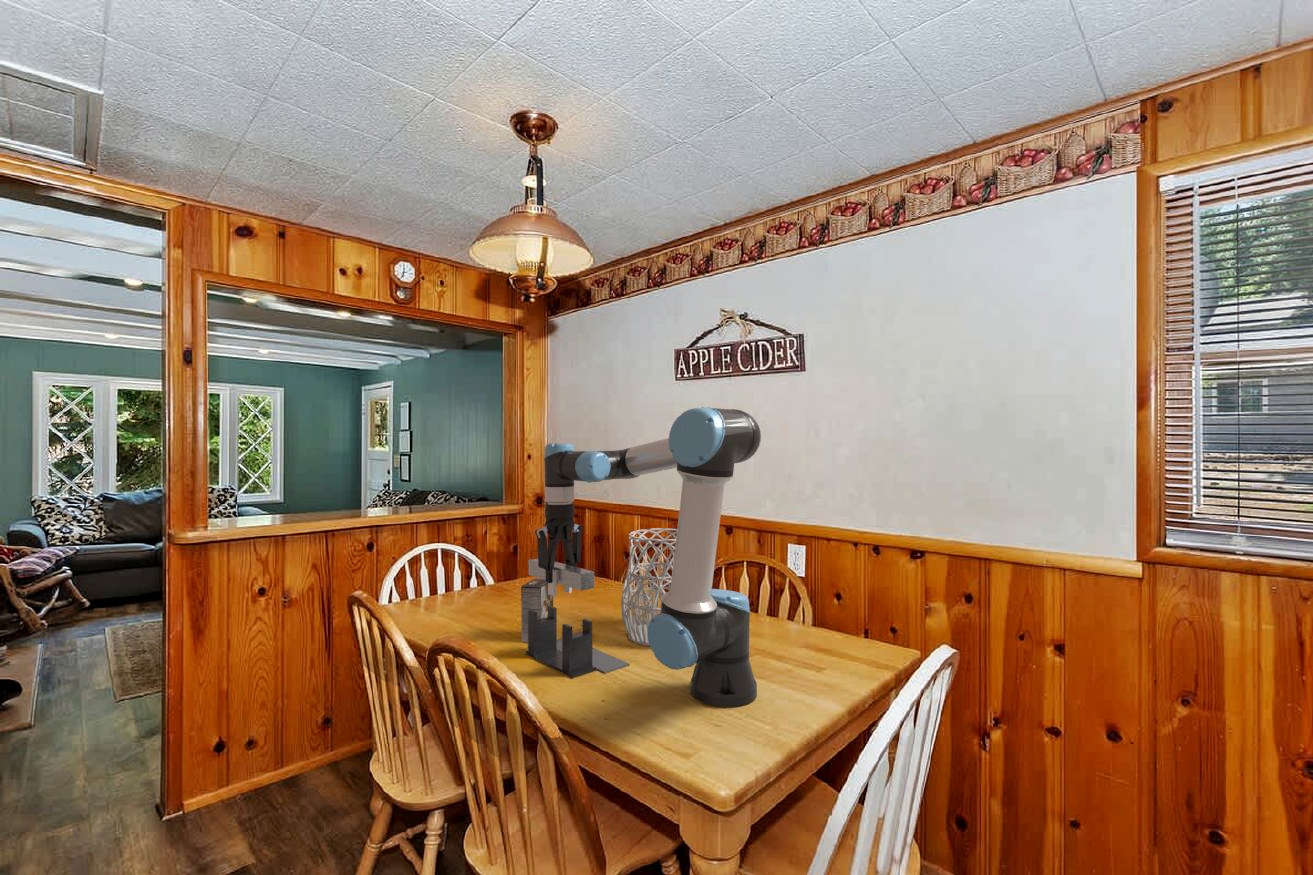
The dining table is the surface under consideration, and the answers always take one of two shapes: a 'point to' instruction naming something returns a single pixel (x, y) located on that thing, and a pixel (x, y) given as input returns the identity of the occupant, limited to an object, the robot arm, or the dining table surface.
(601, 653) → the mat
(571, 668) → the rack
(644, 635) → the vase
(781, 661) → the dining table surface
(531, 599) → the coffee box
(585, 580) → the rail
